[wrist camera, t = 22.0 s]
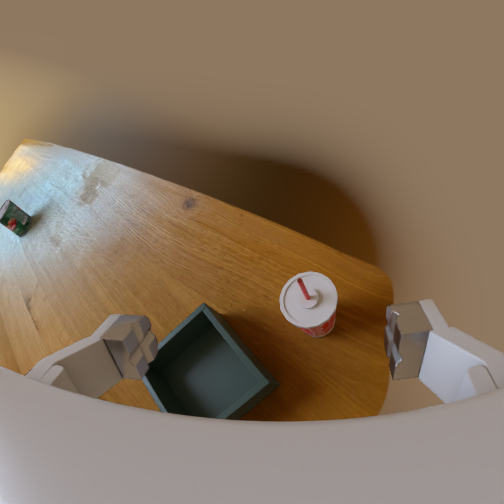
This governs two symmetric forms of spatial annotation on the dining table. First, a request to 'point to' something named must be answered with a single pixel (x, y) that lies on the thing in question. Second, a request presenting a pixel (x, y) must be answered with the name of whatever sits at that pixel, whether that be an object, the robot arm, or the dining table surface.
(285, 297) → the beverage cup
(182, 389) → the bin
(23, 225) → the canned tomato
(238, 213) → the dining table surface
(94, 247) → the dining table surface
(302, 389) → the dining table surface
